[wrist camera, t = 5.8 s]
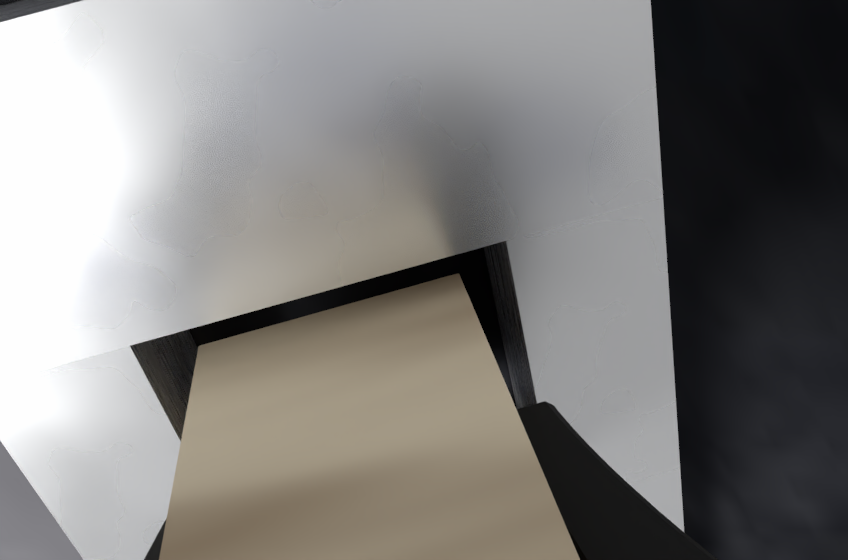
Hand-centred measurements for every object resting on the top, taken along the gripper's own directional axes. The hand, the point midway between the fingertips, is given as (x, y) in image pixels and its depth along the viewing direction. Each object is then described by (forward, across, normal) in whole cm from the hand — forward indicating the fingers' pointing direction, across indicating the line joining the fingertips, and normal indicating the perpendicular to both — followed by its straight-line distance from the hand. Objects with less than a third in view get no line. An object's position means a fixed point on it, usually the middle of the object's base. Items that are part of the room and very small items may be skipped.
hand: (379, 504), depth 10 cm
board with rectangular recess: (+4, 0, +2) cm, 4 cm away
